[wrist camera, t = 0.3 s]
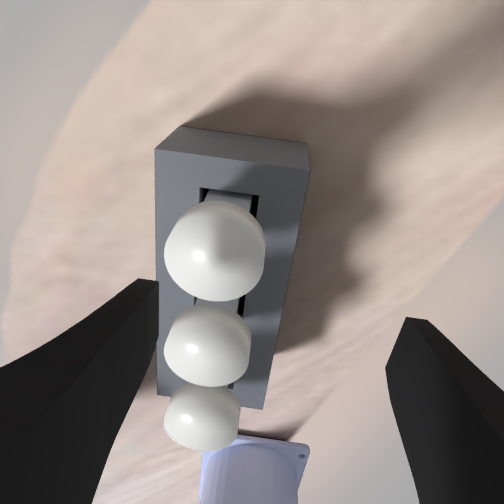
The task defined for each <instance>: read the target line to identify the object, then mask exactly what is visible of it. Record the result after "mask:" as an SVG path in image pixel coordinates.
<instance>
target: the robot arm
mask: <svg viewBox="0 0 504 504" xmlns="http://www.w3.org/2000/svg"><path fill="white" fill-rule="evenodd" d="M158 336H159V281H153V280H146V279H139V278H138V279H137V280H135V281H134V282H133V283H131V284H130V285H129V286H127V287H126V288H125V289H123V290H122V291H121V292H120V293H118V294H117V295H116V296H114V297H113V298H112V299H110V300H109V301H108V302H106V303H105V304H104V305H102V306H101V307H100V308H98V309H97V310H95V311H94V312H93V313H91V314H90V315H89V316H87V317H86V318H84V319H83V320H82V321H80V322H79V323H77V324H76V325H74V326H73V327H71V328H69V329H68V330H66V331H65V332H63V333H62V334H60V335H59V336H57V337H56V338H54V339H52V340H51V341H49V342H47V343H46V344H44V345H42V346H41V347H39V348H37V349H35V350H33V351H32V352H30V353H28V354H26V355H24V356H22V357H21V358H19V359H17V360H15V361H13V362H11V363H9V364H7V365H5V366H3V367H0V504H92V501H93V498H94V495H95V492H96V489H97V486H98V484H99V481H100V478H101V475H102V472H103V470H104V467H105V464H106V461H107V458H108V456H109V453H110V450H111V448H112V445H113V443H114V441H115V438H116V436H117V434H118V432H119V429H120V427H121V425H122V423H123V421H124V419H125V417H126V414H127V412H128V410H129V408H130V406H131V404H132V402H133V400H134V397H135V395H136V393H137V391H138V389H139V387H140V384H141V382H142V380H143V378H144V376H145V374H146V371H147V369H148V367H149V364H150V361H151V358H152V355H153V352H154V349H155V346H156V343H157V340H158ZM385 369H386V377H387V383H388V390H389V395H390V401H391V405H392V408H393V412H394V415H395V418H396V422H397V425H398V429H399V432H400V435H401V438H402V442H403V445H404V449H405V452H406V455H407V458H408V462H409V465H410V468H411V472H412V475H413V478H414V482H415V486H416V490H417V494H418V498H419V503H420V504H504V391H503V390H501V389H500V388H499V387H498V386H497V385H496V384H495V383H494V382H493V381H492V380H490V379H489V378H488V377H487V376H486V375H485V374H484V373H483V372H482V371H481V370H480V369H479V368H478V367H477V366H475V365H474V364H473V363H472V362H471V361H470V360H469V359H468V358H467V357H466V356H465V355H464V354H463V353H462V352H461V351H459V349H458V348H457V347H456V346H455V345H454V344H453V343H452V342H450V341H449V339H447V338H446V337H445V336H444V335H443V334H442V333H441V332H440V331H439V330H438V329H437V328H436V327H435V326H434V325H432V324H431V323H430V322H429V321H428V320H424V319H417V318H410V317H406V319H405V321H404V323H403V326H402V328H401V331H400V333H399V335H398V338H397V340H396V343H395V345H394V348H393V350H392V353H391V355H390V357H389V360H388V362H387V365H386V367H385ZM309 453H310V449H309V446H308V445H305V444H301V443H294V442H287V441H280V440H273V439H266V438H259V437H252V436H245V435H238V434H237V437H236V439H235V440H234V442H233V443H232V444H230V445H229V446H227V447H225V448H223V449H220V450H215V451H203V456H202V467H201V478H200V490H199V500H200V504H298V496H297V491H298V487H299V484H300V481H301V478H302V475H303V472H304V468H305V466H306V463H307V459H308V456H309Z"/></svg>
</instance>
